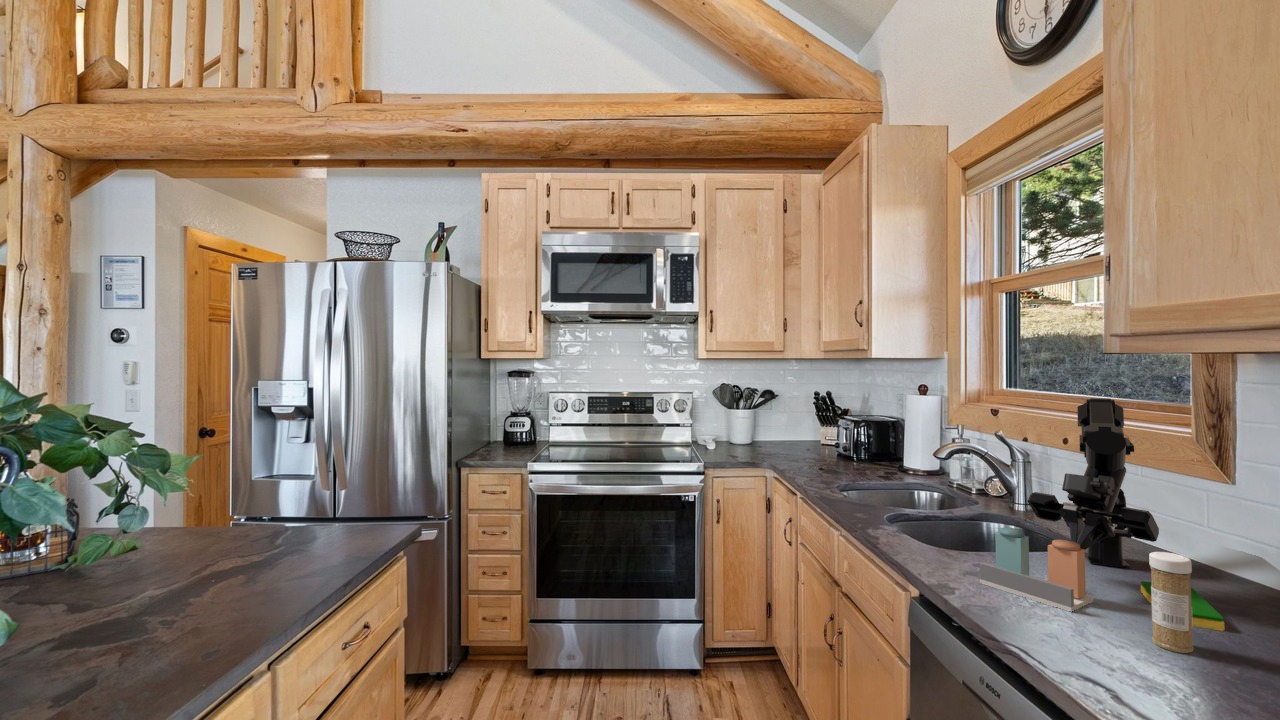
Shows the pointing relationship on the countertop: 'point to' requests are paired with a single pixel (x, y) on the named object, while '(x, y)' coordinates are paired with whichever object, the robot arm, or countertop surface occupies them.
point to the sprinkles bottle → (1171, 601)
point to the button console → (1031, 587)
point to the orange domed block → (1067, 566)
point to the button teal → (1012, 550)
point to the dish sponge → (1195, 609)
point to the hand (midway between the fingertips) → (1075, 552)
